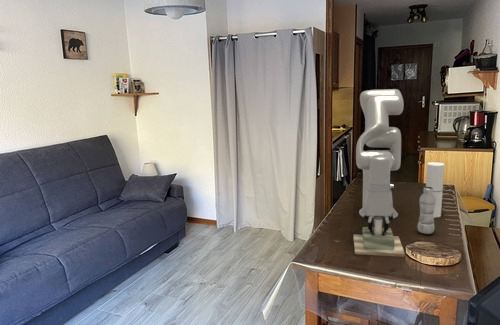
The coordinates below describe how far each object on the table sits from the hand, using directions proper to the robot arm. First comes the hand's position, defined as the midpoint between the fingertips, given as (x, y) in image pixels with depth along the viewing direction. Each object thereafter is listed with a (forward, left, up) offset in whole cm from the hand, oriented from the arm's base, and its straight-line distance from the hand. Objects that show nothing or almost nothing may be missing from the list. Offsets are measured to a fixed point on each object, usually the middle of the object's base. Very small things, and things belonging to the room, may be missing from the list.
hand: (377, 230), depth 150 cm
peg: (0, 0, -5) cm, 5 cm away
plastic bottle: (-16, +21, -7) cm, 27 cm away
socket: (0, 0, -7) cm, 7 cm away
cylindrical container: (-38, +28, -7) cm, 48 cm away
